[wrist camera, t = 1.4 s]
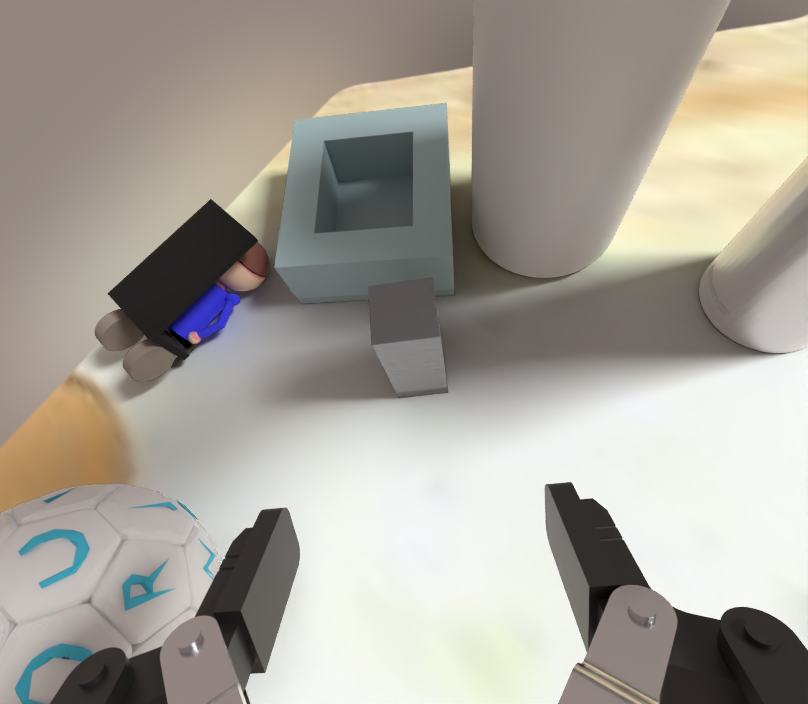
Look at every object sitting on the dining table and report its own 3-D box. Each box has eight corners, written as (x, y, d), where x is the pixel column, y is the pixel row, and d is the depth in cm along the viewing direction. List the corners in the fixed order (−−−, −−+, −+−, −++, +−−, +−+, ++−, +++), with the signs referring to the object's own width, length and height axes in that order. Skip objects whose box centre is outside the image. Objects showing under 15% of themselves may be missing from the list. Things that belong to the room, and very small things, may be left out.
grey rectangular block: (448, 392, 35) (440, 336, 25) (398, 398, 36) (371, 345, 26) (439, 325, 38) (429, 249, 28) (393, 331, 38) (367, 258, 28)
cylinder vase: (633, 266, 37) (899, -157, 14) (487, 294, 38) (516, -64, 15) (588, 157, 42) (733, -288, 19) (459, 184, 43) (450, -212, 20)
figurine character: (182, 399, 40) (295, 275, 41) (112, 379, 33) (251, 230, 34) (143, 355, 42) (250, 239, 44) (70, 328, 35) (201, 190, 37)
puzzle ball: (111, 786, 28) (-222, 1024, 15) (40, 578, 34) (-249, 610, 20) (301, 624, 31) (165, 699, 17) (205, 453, 36) (44, 404, 22)
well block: (449, 155, 45) (446, 102, 39) (454, 295, 39) (452, 255, 33) (315, 168, 46) (294, 119, 41) (300, 303, 40) (274, 267, 35)
